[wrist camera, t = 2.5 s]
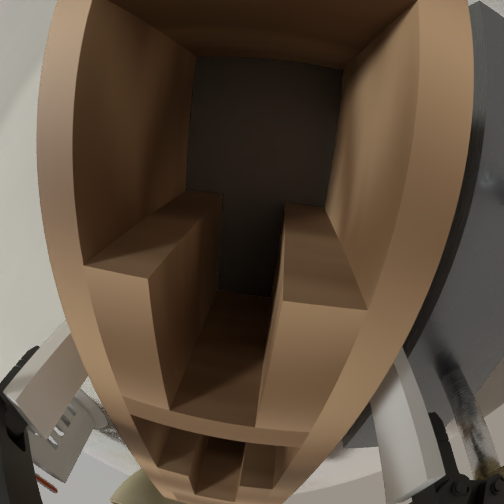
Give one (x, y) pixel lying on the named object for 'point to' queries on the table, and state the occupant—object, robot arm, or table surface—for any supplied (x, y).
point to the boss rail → (465, 273)
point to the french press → (66, 439)
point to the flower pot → (139, 491)
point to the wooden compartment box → (209, 228)
